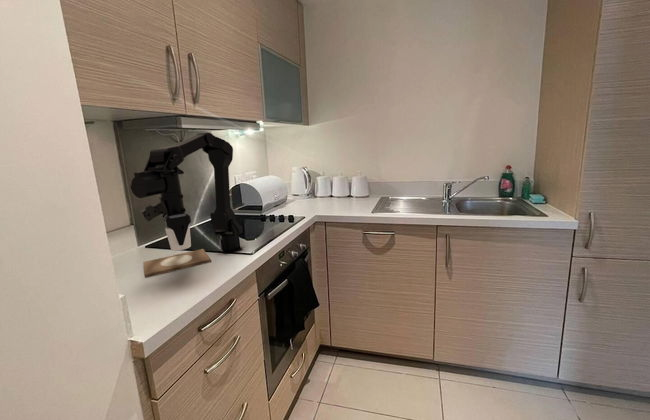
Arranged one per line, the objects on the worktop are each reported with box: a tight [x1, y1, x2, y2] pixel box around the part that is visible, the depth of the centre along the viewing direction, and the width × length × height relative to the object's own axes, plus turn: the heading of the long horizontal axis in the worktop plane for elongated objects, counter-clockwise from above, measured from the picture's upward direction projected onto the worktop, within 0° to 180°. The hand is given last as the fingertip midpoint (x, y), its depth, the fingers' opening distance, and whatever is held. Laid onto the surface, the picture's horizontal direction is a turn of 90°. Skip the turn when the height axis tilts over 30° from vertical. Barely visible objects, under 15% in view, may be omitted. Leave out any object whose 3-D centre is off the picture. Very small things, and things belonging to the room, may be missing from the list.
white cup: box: [164, 223, 192, 251], centre depth 98 cm, size 7×7×7 cm
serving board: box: [142, 248, 212, 279], centre depth 112 cm, size 20×14×1 cm
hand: (179, 242), depth 98 cm, fingers closed on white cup, 6 cm apart
